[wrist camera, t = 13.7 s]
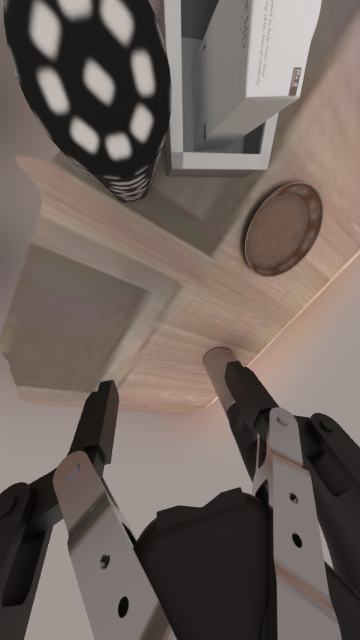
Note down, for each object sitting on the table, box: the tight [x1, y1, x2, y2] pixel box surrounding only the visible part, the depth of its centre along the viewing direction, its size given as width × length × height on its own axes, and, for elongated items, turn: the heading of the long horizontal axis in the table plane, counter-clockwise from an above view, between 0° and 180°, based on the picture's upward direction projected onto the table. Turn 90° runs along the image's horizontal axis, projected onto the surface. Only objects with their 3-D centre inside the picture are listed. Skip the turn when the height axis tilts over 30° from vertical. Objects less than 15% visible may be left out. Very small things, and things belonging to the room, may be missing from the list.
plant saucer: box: [245, 182, 323, 277], centre depth 35 cm, size 18×18×3 cm
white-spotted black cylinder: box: [4, 0, 172, 203], centre depth 17 cm, size 8×8×20 cm
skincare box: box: [192, 0, 322, 150], centre depth 18 cm, size 8×6×15 cm
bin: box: [158, 0, 279, 176], centre depth 22 cm, size 15×15×6 cm
